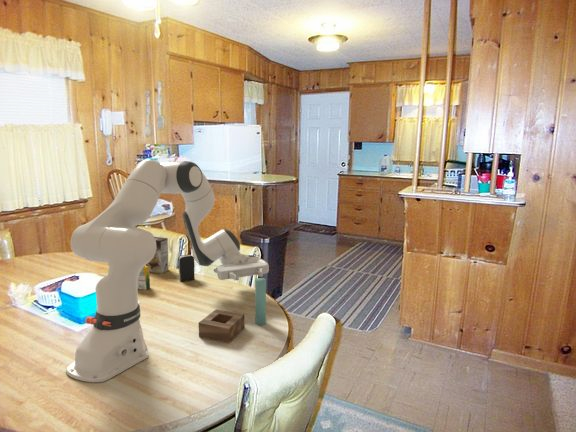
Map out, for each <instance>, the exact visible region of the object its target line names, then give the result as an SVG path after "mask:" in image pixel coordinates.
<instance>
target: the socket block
mask: <svg viewBox="0 0 576 432" xmlns="http://www.w3.org/2000/svg"><path fill="white" fill-rule="evenodd" d="M245 321H246V320H245V314H244V313H240V312H233V311H228V310H221V309H218V308H217V309H214V310H213V311H212V312H211V313H209V314H208V315H207V316H205V317H204V318H203V319H201V320H200V321H198V337H199V338H201V339H202V338H203V339H206V340H207V339H208V340H212V341H217V342H221V343H227V344H230V343H231V342H232V341H233V340H234V339H235V338H236V337H237V336H238V335H239V334H240V333H241V332H242V331H243V330H244V329H245V325H246V324H245Z"/></svg>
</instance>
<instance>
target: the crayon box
mask: <svg viewBox="0 0 576 432" xmlns="http://www.w3.org/2000/svg"><path fill="white" fill-rule="evenodd" d="M150 288H151V282H150V272H149V266H146V265H145V266H144V267H143V268H142V270H141V272H140V274H139V277H138V283H137V290H138V289H139V290H144V291H147V290H148V289H150Z"/></svg>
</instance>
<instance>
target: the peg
mask: <svg viewBox="0 0 576 432" xmlns="http://www.w3.org/2000/svg"><path fill="white" fill-rule="evenodd" d="M254 281H255V283H254V285H255V287H254V288H255V290H254V291H255V293H254V294H255V298H254V299H255V303H254V304H255V307H254V308H255V309H254V310H255V312H254V313H255V319H254V320H255V325H257V326H264V325H266V323H267V321H266V319H267V309H266V307H267V304H266V303H267V296H266V295H267V292H266V291H267V279H266V278H264V277H258V278H255V280H254Z"/></svg>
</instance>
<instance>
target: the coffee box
mask: <svg viewBox="0 0 576 432" xmlns="http://www.w3.org/2000/svg"><path fill="white" fill-rule="evenodd" d="M154 238H155V240H156V252H155V255H154V257H153V258H152V260H151V261H150V262H149V263H147V264H146V265H145V266H149V273H155V274H164V273H165V272H168V271H169V269H170V268H169V245H168V244H169V242H168V241H169V240H168V239H169V238H168V237H161V236H160V237H158V236H154Z"/></svg>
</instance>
